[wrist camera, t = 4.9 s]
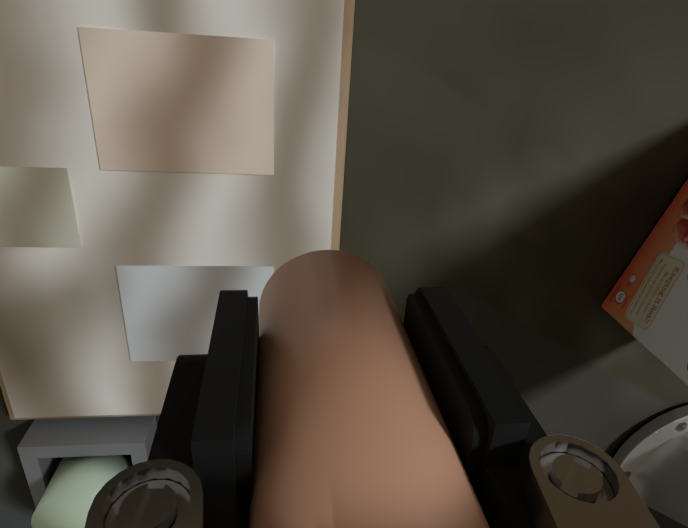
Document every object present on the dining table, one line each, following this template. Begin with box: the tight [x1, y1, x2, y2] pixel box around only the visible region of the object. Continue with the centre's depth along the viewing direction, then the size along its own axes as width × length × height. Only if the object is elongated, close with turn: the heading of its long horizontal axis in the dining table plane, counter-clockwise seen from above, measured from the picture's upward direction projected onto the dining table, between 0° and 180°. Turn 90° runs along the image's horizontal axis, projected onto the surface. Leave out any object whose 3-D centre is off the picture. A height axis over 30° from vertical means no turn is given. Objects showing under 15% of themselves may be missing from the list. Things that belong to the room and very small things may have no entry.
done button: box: [31, 455, 133, 528], centre depth 29 cm, size 5×5×4 cm
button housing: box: [17, 415, 157, 508], centre depth 31 cm, size 7×7×2 cm
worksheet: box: [0, 0, 355, 420], centre depth 25 cm, size 19×25×1 cm
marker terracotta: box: [249, 250, 490, 528], centre depth 7 cm, size 3×3×10 cm
